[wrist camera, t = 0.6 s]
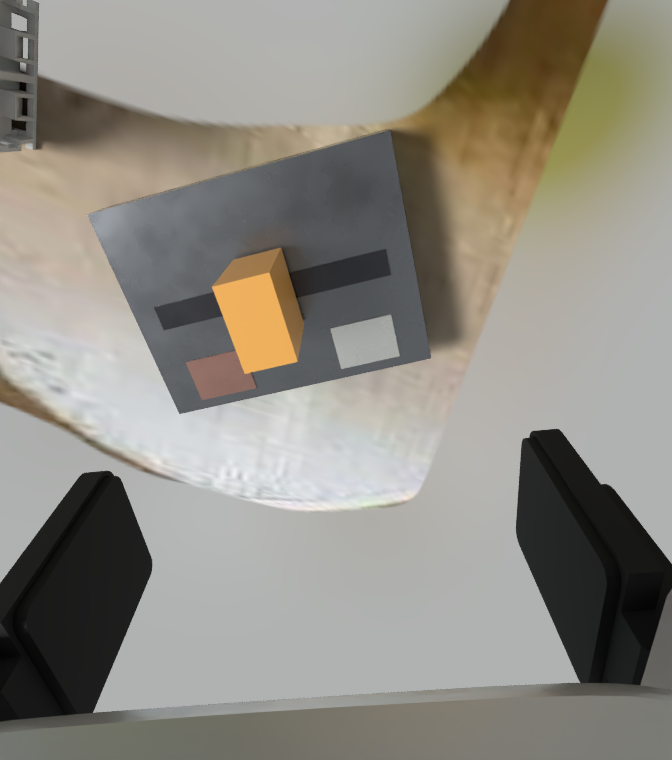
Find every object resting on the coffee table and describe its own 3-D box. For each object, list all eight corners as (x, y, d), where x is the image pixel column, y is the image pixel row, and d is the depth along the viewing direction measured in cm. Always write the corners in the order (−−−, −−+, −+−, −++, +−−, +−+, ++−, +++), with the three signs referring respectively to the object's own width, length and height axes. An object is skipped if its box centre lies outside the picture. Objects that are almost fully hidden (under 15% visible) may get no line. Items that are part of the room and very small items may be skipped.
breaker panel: (385, 129, 29) (390, 130, 27) (424, 340, 36) (431, 358, 33) (108, 206, 31) (86, 214, 29) (190, 393, 38) (179, 414, 35)
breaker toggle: (281, 247, 29) (269, 272, 24) (304, 324, 31) (297, 361, 26) (233, 259, 30) (211, 286, 25) (259, 335, 32) (244, 373, 27)
